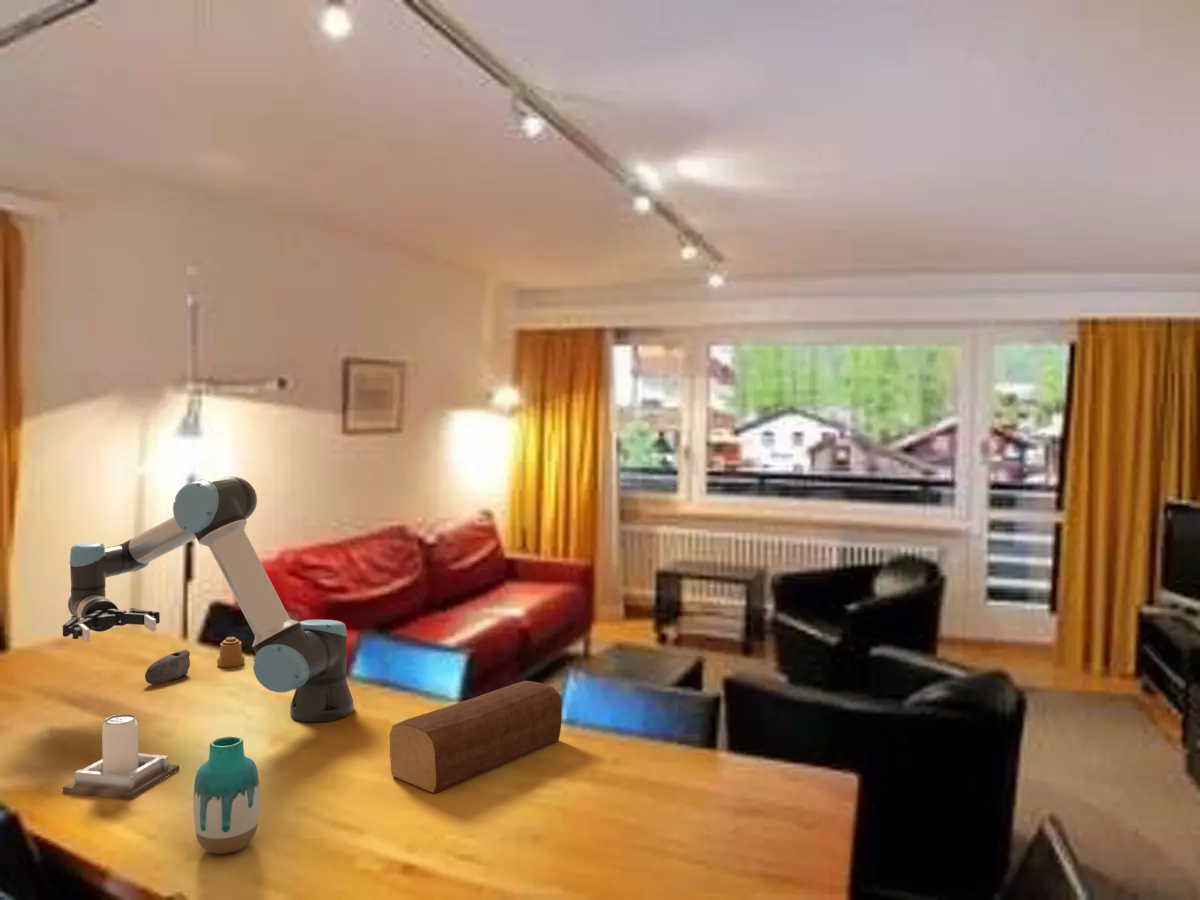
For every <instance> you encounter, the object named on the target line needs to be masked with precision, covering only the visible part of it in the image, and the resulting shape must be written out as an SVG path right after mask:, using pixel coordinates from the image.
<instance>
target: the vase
mask: <svg viewBox="0 0 1200 900" xmlns="http://www.w3.org/2000/svg"><path fill="white" fill-rule="evenodd" d="M243 739H244V738H242V737H240V736H236V735H235V736H234V735H227V736H222V737H217V738H215V739H213V740H211V742H210V743H209V753H208V760H207V761H206V762H204V763H203V764H201V765H200V766H199V768H198V769H197V772H196V774H195V780H194V785H193V786H194V787H193V821H194V830H195V837H196V840H197V842H198V844H199V845H200V847H201V848H202V849H203V850H205V851H206V852H209V853H212V854H218V855H220V854H224V855H225V854H230V853H233V852H237V851H239V850H241V849H243V848H245V847H246V846H247V845H249V844H250V843H251V842H252V841H253V839H254V837H255V835H256V833H257V829H258V824H259V815H260V779H259V773H258V772H259V771H258V768H257V764H256V762H255V761H254V760H253V759H251V758H250V757H247V756H245V750H244V740H243Z"/></svg>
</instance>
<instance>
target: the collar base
mask: <svg viewBox="0 0 1200 900" xmlns="http://www.w3.org/2000/svg"><path fill="white" fill-rule="evenodd" d="M138 768H139V767H138ZM177 770H178V771H180V764H171V763H168V769H166V770H161V771H159V772H158V773H156V774H154V775H153V776H151V777H149V778H148V779H146V780H144V781H143V782H141V783H139V784H137V785H136V786H135V788H134V789H132V790H131V791H129V790H121V789H113V788H104V787H96V786H87V785H79V784H75V780H73V781H71V782H69V783H68V784H66V785H65V786H63V787H62V792H63V793H68V794H75V795H76V794H77V795H86V796H91V797H101V798H108V799H117V800H125V801H130V800H132V799H134V798H135V797H136V796H139V795H140V794H142V793H144V792H145V791H146V790H149V789H150V788H152V787H153V786H155V785H157V784H158V783H160V782H161V781H160V780H162V779H163V778H165V777H166V776H168V775H170V774H171V775H173V774H175V773H176V772H178V771H177ZM175 771H176V772H175ZM174 772H175V773H174ZM172 773H173V774H172ZM171 775H170V776H171ZM168 777H169V776H168ZM165 779H166V778H165ZM163 780H164V779H163ZM163 780H162V781H163ZM159 781H160V782H159ZM157 782H158V783H157ZM156 783H157V784H156ZM154 784H155V785H154ZM151 786H152V787H151ZM138 794H139V795H138Z"/></svg>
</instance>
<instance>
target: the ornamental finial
mask: <svg viewBox="0 0 1200 900" xmlns="http://www.w3.org/2000/svg"><path fill="white" fill-rule="evenodd" d="M219 644H220V645H219V657H218V658H217V660H216V662H217V665H218V667H219V668H223V669H231V668H238V667H241V666H242V665H244V663H245V660H246V659H245V656H244V655H243V650H242V649H243V648H242V647H243V646H242V641H241V640H240V639H237V637H235V636H227V637H226V638H225V639H224V640H223V641H222V642H221V643H219Z"/></svg>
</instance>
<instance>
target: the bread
mask: <svg viewBox="0 0 1200 900" xmlns="http://www.w3.org/2000/svg"><path fill="white" fill-rule="evenodd" d="M562 720H563V719H562V700H561V697H560V693H559V691H557V689H555V688H554V687H553V686H552V685H548V684H546V683H541V682H538V681H531V680H523V681H522V680H521V681H519V682H515V683H513V684H510V685H508V686H504V687H501V688H498V689H495V690H492V691H489V692H486V693H483V694H481V695H478V696H475V697H473V698H469V699H466V700H463V701H459V702H457V703H455V704H451V705H449V706H446V707H443V708H442V707H441V708H439V709H436V710H431V711H429V712H427V713H423V714H421V715H417V716H414V717H411V718H408V719H406V720H402V721H401V722H397V723H396V724H394V725H392V726H391V729H390V732H389V759H390V772H391V776H393V777H395V778H396V779H399V780H402V781H404V782H406V783H409V784H411V785H413V786H415V787H418V788H420V789H422V790H424V791H427V792H428V793H431V794H434V795H435V794H437V793H439V792H441V791H444V790H448V789H450V788H453V787H455V786H457V785H459V784H461V783H464V782H466V781H469V780H470V779H473V778H474V777H475V778H476V777H478V776H480V775H482V774H485V773H487V772H489V771H491V770H494V769H496V768H499V767H500V766H504V765H506V764H509V763H511V762H513V761H516V760H518V759H521V758H522V757H524V756H528V755H529V754H532V753H534V752H536V751H539V750H541V749H544V748H545V747H546V748H547V747H548V746H550V745H552V744H555V743H556V742H559V740H560V735H561V729H562Z"/></svg>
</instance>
